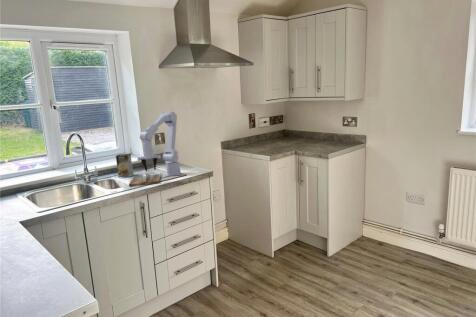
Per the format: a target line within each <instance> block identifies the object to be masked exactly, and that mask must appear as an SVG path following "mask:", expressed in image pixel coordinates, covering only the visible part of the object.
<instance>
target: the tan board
mask: <svg viewBox="0 0 476 317" xmlns="http://www.w3.org/2000/svg"><path fill="white" fill-rule="evenodd" d="M148 176H150V178H149V179H147V181H146V182H143V177H144V175H138V176H133V177H132V179H131V180H130V181H129V183H128V187H129V186H130V187H137V186H136V185H139V186H145V185H146V186H147V185H155V184H159V183H160V181H161V177H162V174H161V173H159V174H158V173H157V174H148Z"/></svg>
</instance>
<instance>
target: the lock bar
mask: <svg viewBox="0 0 476 317" xmlns="http://www.w3.org/2000/svg"><path fill="white" fill-rule="evenodd" d="M148 175H149V174H148V173H145V174H143V176H144V177H143V182H146V181H147V178H148Z"/></svg>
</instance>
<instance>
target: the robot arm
mask: <svg viewBox="0 0 476 317" xmlns="http://www.w3.org/2000/svg"><path fill="white" fill-rule="evenodd" d="M177 118H178V115H177V114H176V113H175V112H174V111H165V112H164V111H162V112H161V113H160V114H159V117H158V118H157V120H155V122H154V123H151V124H149V125H148V127H147V128H145V130H144V131H141V132H140V134H139V139H140V140H141V143H142V148H143V155H144V156H139V157H137V161H138V162H140V161H141V163H142V165H143V168H144V169H145V172H148V166H147V160H152V161H153V170H154V171H156V169H157V167H156V166H157V162H158V159H161V158H162V160H163V161H164V163H165V166H166V168H165V169H166V177H173V176H179V175H180V176H181V172H182V171H181V167H180V166H181V165H180V161H178V160H179V152H178V151H177V150H176V148H175V147H176V138H177V137H176V134H177V121H178V119H177ZM162 124H166V125H167V126H168V128H167V129H168V131H167V142H166V143H167V144H166V148H165V150H163V154H162V156H161V155H160V154H158V155H157V154H156V155H155V154H154V151H153V150H154V149H153V141H152V140H153V137H154V135H155V134H156V133H157V132H158V131H159V127H160V126H161V125H162Z"/></svg>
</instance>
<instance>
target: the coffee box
mask: <svg viewBox="0 0 476 317" xmlns="http://www.w3.org/2000/svg"><path fill="white" fill-rule="evenodd" d="M115 160H116V161H115V162H116V166H117V174H118V178H129V177H128V176H131V177H132V176H133V175H134V169H133V163H132V155H131V153H118V154H117V155H115Z"/></svg>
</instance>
